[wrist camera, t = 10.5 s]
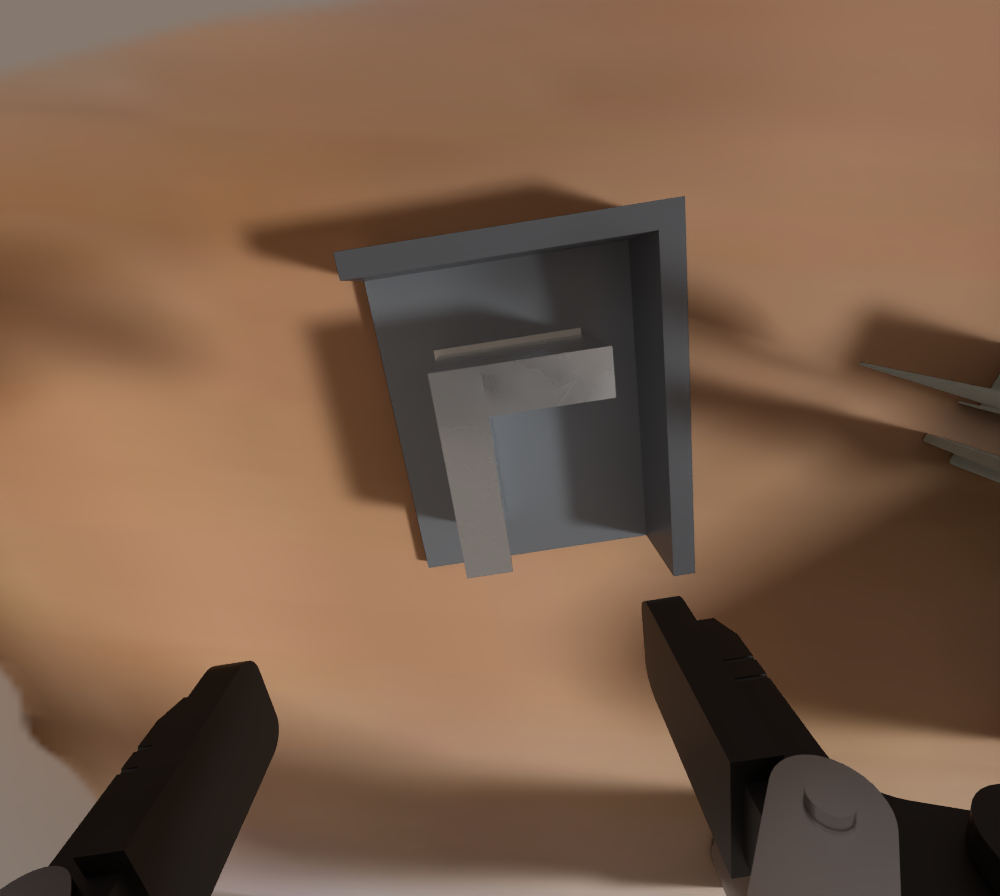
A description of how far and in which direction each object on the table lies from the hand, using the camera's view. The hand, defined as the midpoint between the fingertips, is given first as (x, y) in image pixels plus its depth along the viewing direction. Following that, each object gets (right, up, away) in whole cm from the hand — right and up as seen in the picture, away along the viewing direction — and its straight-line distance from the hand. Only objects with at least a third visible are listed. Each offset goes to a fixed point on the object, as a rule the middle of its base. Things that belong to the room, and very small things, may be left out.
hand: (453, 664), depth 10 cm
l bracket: (+2, +5, +14) cm, 15 cm away
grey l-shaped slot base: (+2, +7, +15) cm, 16 cm away
